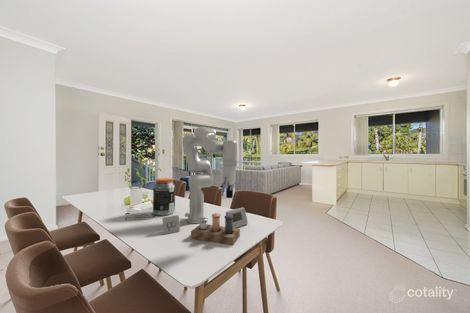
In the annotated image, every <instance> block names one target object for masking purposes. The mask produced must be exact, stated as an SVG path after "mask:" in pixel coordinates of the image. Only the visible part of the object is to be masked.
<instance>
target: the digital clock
mask: <svg viewBox="0 0 470 313" xmlns="http://www.w3.org/2000/svg"><path fill="white" fill-rule="evenodd" d="M225 215H233V228H237V229H239V228H241V227H244V226H245V225H248V224H249V223H248V217H247V213H246V208H244V207H238V208H234V209H230V210H227V211H226V212H225Z"/></svg>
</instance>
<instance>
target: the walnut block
mask: <svg viewBox="0 0 470 313" xmlns="http://www.w3.org/2000/svg"><path fill="white" fill-rule="evenodd" d="M240 234H241V229H240V228H233V230H232V234H226V233H225V226H223V225H220V231H219V232H212V224H208V223H207V230H200V224H199V225H197V226H196V227H195V228H193V229H192V230H191V231H190V239H191V240H198V241H203V242H204V241H205V242H209V243H216V244H221V245H222V244H223V245H226V246H227V245H228V246H232V247H233V246H234V245H235V244H236V242H237V241H238V239H239V238H240V236H241V235H240Z"/></svg>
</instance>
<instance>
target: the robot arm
mask: <svg viewBox="0 0 470 313" xmlns="http://www.w3.org/2000/svg"><path fill="white" fill-rule="evenodd" d="M216 137H217V132H216V129H214V128H213V127H205V126H199V127H196V128H195V130H194V131H193V133H188V134H185V135H183V137H182V141H181V142H182V149H183V150H184V153H185V156H186V162H187V168H188V172H190V173H191V174H192V175H190V176H189V177H188V182H187V183H188V188H189V189H188V190H189V212H185V214H184V217H187V218H186V222H187V223H189V224H200V221H199V219H200V218H206V217H205V216H204V215H205V214H204V212H205V209H204V207H205V206H204V205H205V204H204V203H205V202H204V201H205V200H204V199H205V193H204V191H203V190H202V189H203V188H204V189H205V188H210V187H212V186H213V185H214V174H213V170H212V165H211V162H210V161H209V160H208V159H205V158H203V159H201V158H200V155H199V152H198V151H197V149H196V148H195V147H202V148H203V150H204V151H205V152H207V153H208V154H210V155H211V154H212V155H222V173H221V185H222V186H224V188H225V198H226V199H232V198H234V195H233V194H234V185H235V184H236V180H237V170H236V167H237V166H238V163H237V162H238V157H237V156H238V143H237V141H236V140H229V139H227V140H218V139H217V140H216Z"/></svg>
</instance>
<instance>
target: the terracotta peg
mask: <svg viewBox="0 0 470 313" xmlns="http://www.w3.org/2000/svg"><path fill="white" fill-rule="evenodd" d="M211 218H212V224H211V225H212V232H219V231H220V226H221V224H220V222H221V221H220V220H221V213H217V212H215V213H212V214H211Z"/></svg>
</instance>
